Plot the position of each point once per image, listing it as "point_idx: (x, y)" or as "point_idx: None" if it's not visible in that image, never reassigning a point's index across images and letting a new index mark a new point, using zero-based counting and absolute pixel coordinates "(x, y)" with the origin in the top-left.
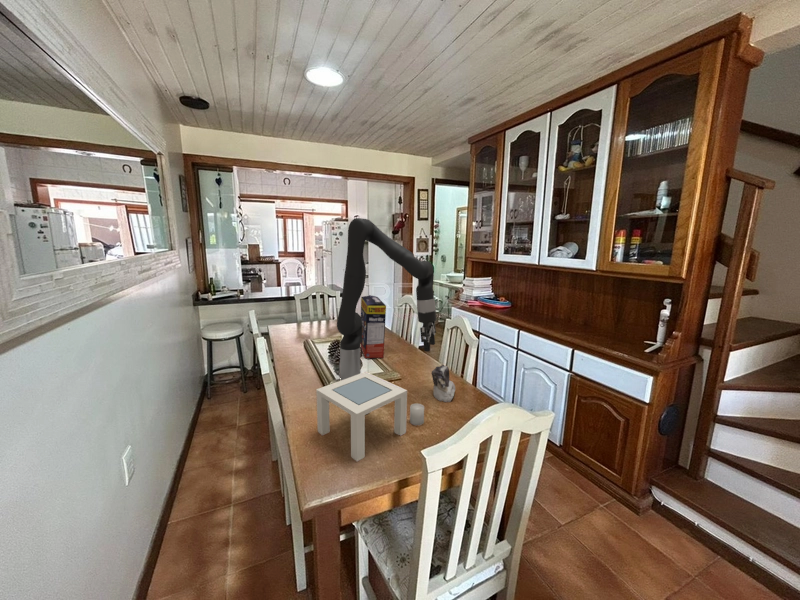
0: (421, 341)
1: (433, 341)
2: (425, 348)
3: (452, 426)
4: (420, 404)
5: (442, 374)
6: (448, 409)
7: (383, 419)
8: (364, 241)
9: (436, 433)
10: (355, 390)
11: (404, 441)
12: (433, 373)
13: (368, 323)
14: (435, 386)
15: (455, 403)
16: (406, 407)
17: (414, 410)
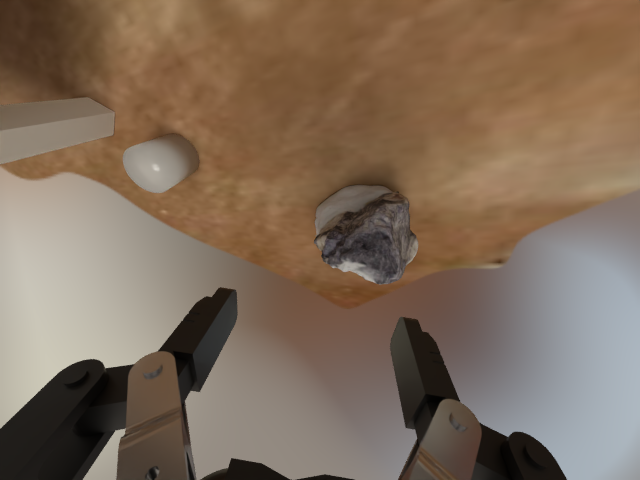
0: (63, 372)
1: (397, 365)
2: (194, 314)
3: (208, 239)
4: (168, 178)
5: (328, 260)
6: (279, 230)
7: (120, 28)
8: None
9: (161, 209)
10: None
11: None
12: (364, 218)
13: None
14: (367, 200)
15: None
16: (29, 155)
17: (125, 164)
